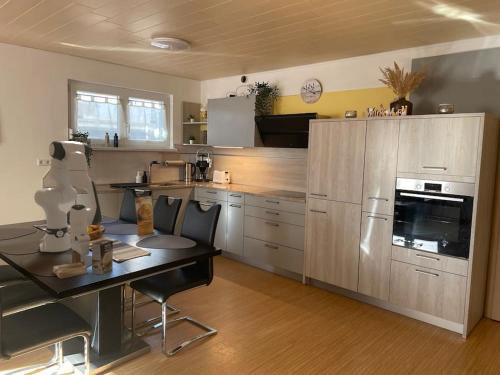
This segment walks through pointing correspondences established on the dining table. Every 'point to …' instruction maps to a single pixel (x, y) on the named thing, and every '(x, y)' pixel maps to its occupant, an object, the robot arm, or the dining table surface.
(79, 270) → the base slab
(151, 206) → the pancake mix bag
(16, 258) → the dining table surface
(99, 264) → the coffee box
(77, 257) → the walnut block
